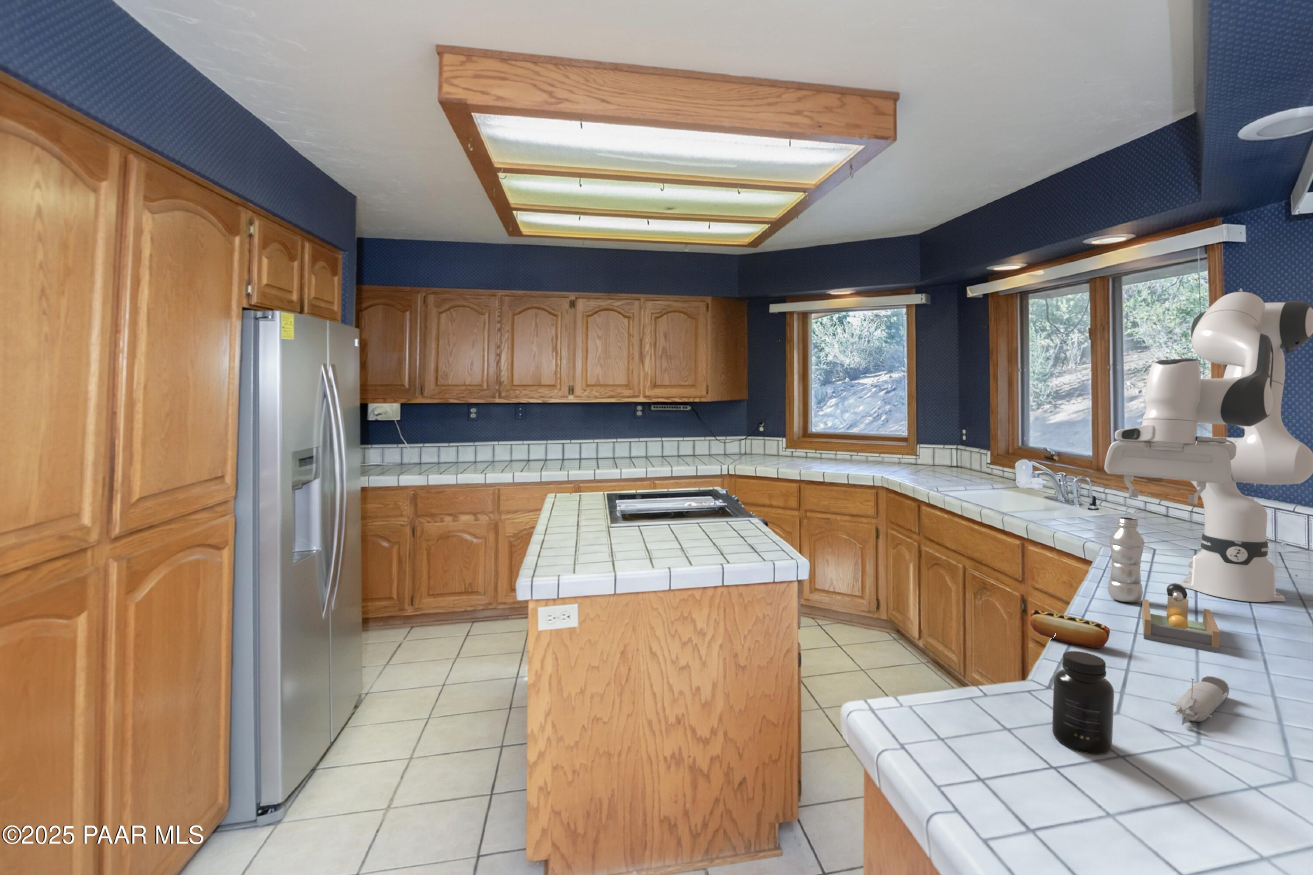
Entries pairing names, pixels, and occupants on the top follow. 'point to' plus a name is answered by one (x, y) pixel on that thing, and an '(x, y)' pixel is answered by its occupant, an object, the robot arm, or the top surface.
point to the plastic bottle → (1126, 561)
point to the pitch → (1181, 630)
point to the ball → (1178, 622)
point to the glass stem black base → (1177, 601)
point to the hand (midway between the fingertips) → (1162, 500)
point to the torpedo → (1201, 699)
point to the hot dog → (1069, 629)
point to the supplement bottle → (1083, 704)
